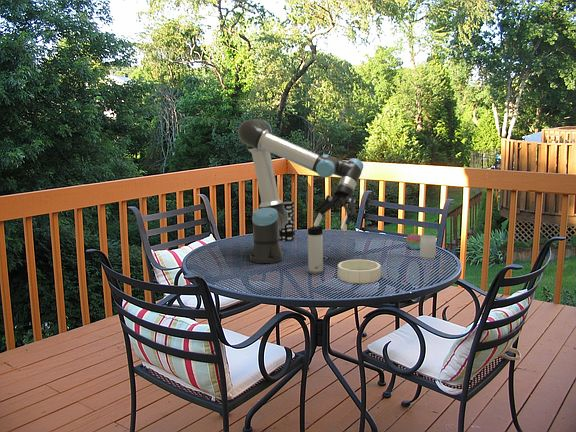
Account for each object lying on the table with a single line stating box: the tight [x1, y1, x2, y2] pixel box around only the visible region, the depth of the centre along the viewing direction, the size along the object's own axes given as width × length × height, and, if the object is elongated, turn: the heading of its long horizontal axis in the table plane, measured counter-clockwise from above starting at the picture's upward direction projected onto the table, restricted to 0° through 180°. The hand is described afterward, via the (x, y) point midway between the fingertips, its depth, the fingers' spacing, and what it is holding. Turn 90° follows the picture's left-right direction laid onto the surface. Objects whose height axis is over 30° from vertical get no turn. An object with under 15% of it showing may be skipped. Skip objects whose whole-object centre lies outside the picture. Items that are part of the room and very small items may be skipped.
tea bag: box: [419, 234, 437, 259], centre depth 249 cm, size 4×7×10 cm, turn 69°
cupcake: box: [405, 226, 422, 250], centre depth 265 cm, size 9×8×12 cm
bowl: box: [337, 258, 382, 285], centre depth 222 cm, size 17×17×5 cm
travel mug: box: [307, 225, 324, 275], centre depth 228 cm, size 6×7×20 cm
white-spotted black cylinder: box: [278, 201, 296, 242], centre depth 287 cm, size 8×8×20 cm
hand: (328, 228), depth 233 cm, fingers open, 13 cm apart
